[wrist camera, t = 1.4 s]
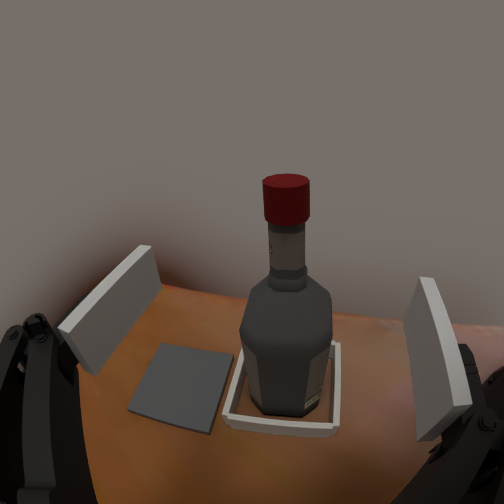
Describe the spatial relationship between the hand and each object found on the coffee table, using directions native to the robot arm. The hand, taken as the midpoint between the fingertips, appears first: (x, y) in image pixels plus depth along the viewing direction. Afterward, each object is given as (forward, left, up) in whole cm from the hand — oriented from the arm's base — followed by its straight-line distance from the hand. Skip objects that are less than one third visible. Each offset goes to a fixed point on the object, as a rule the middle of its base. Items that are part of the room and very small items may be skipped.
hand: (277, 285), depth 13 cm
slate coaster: (+16, -9, -28) cm, 34 cm away
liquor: (+1, -11, -29) cm, 31 cm away
